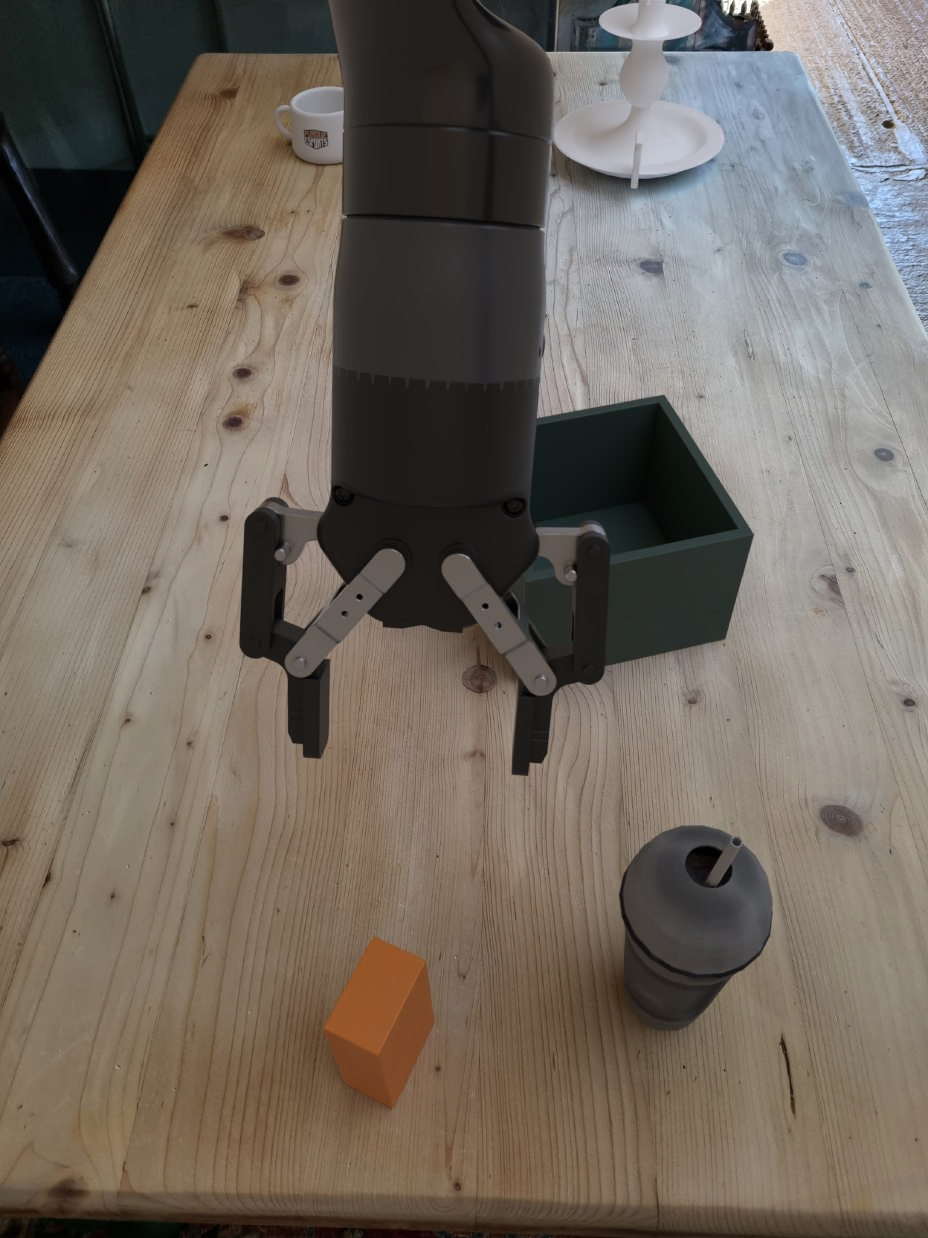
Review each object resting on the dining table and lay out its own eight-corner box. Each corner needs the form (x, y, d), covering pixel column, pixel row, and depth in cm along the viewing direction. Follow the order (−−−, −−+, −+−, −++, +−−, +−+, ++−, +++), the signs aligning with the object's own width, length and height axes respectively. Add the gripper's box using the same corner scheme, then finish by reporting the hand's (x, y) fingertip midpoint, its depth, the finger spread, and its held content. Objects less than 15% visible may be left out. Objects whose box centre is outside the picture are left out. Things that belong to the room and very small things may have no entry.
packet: (435, 1022, 55) (426, 960, 49) (393, 1109, 53) (377, 1056, 46) (388, 999, 56) (373, 935, 50) (344, 1084, 53) (322, 1028, 47)
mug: (378, 135, 129) (373, 86, 124) (355, 169, 123) (349, 119, 118) (291, 128, 131) (284, 79, 126) (264, 161, 125) (256, 111, 120)
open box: (725, 639, 73) (754, 534, 65) (522, 684, 71) (525, 582, 62) (648, 499, 83) (664, 393, 74) (467, 536, 80) (464, 430, 72)
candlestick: (541, 213, 114) (551, -72, 93) (558, 120, 130) (571, -142, 109) (722, 222, 112) (775, -69, 91) (718, 126, 128) (762, -141, 107)
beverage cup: (704, 919, 59) (777, 730, 44) (748, 1044, 54) (846, 881, 39) (586, 940, 58) (617, 756, 43) (619, 1069, 54) (668, 913, 38)
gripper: (211, 355, 32) (223, 790, 38) (647, 384, 32) (595, 820, 37) (266, 338, 39) (270, 707, 45) (625, 361, 39) (583, 731, 45)
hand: (418, 758), depth 41 cm, fingers open, 8 cm apart
